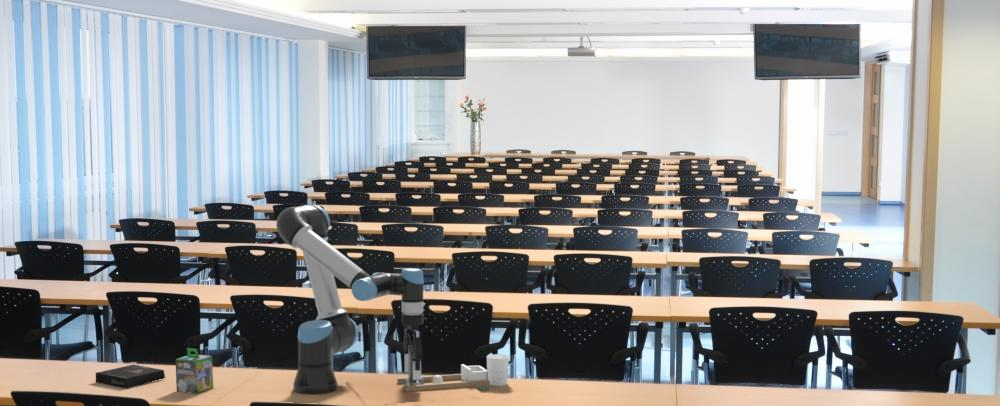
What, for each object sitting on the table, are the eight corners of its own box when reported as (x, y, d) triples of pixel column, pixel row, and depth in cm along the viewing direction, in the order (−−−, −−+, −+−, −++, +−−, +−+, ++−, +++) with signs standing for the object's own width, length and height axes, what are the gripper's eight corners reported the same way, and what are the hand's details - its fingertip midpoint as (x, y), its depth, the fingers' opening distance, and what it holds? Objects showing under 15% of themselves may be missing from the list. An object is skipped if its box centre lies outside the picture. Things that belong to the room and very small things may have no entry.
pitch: (406, 395, 378) (406, 386, 378) (397, 386, 391) (397, 378, 391) (489, 388, 388) (489, 380, 388) (478, 380, 400) (478, 372, 400)
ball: (434, 386, 386) (434, 376, 386) (431, 384, 390) (431, 374, 390) (444, 386, 388) (444, 376, 387) (441, 383, 391) (441, 373, 391)
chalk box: (213, 388, 387) (213, 346, 386) (196, 394, 379) (195, 351, 378) (193, 385, 391) (192, 344, 390) (175, 391, 383) (174, 349, 382)
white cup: (506, 387, 391) (506, 359, 390) (484, 386, 392) (484, 358, 392) (510, 382, 398) (510, 354, 398) (489, 381, 400) (489, 353, 399)
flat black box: (165, 380, 401) (164, 369, 401) (126, 389, 387) (126, 378, 386) (134, 374, 410) (134, 364, 410) (95, 383, 395) (95, 372, 395)
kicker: (409, 389, 382) (409, 346, 381) (404, 384, 388) (404, 342, 387) (424, 387, 383) (424, 345, 382) (419, 383, 390) (419, 341, 389)
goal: (469, 386, 387) (469, 370, 387) (460, 380, 397) (460, 364, 396) (488, 385, 389) (488, 368, 389) (479, 378, 399) (479, 363, 398)
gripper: (432, 318, 374) (432, 382, 376) (414, 307, 396) (414, 367, 398) (410, 319, 372) (410, 383, 373) (394, 308, 394) (394, 369, 395)
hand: (412, 375), depth 386 cm, fingers open, 11 cm apart
